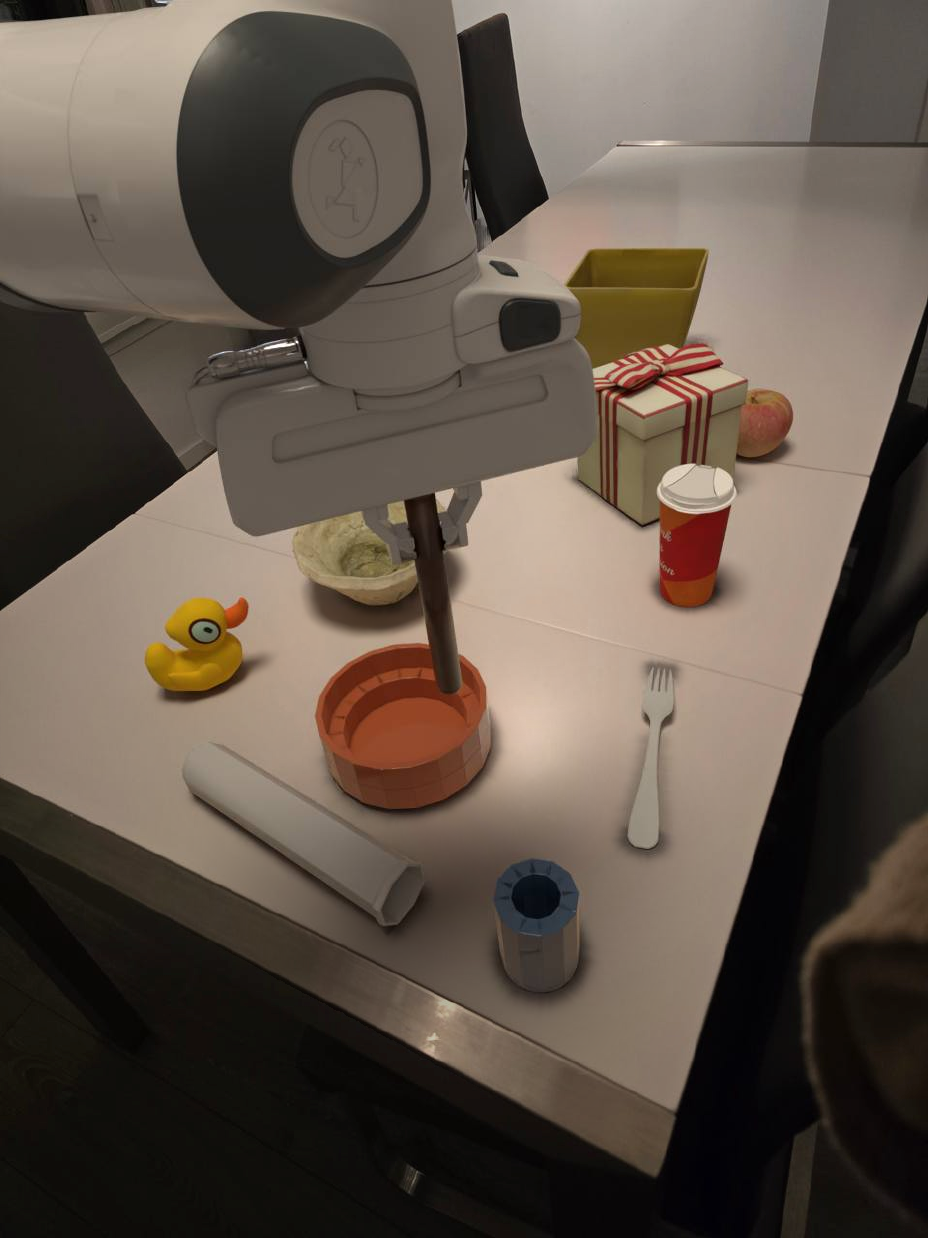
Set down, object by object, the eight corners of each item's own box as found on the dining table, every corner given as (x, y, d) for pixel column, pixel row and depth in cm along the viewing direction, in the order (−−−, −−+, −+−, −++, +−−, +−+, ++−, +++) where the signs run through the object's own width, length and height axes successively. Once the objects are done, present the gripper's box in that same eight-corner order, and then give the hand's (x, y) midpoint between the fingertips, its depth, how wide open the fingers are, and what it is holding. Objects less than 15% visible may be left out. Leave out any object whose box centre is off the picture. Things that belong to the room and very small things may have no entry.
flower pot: (588, 347, 141) (588, 246, 130) (699, 351, 136) (709, 246, 125) (563, 395, 128) (561, 287, 117) (686, 402, 122) (696, 289, 111)
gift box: (642, 436, 115) (649, 316, 104) (741, 487, 103) (760, 357, 92) (547, 477, 109) (543, 354, 98) (639, 537, 97) (647, 404, 86)
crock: (517, 1004, 56) (510, 947, 51) (491, 933, 60) (483, 874, 55) (591, 977, 57) (592, 919, 52) (560, 909, 61) (558, 848, 56)
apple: (796, 445, 109) (807, 390, 104) (764, 473, 105) (774, 417, 100) (738, 429, 114) (745, 375, 109) (704, 455, 110) (711, 400, 105)
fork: (623, 859, 67) (623, 843, 65) (647, 667, 80) (648, 649, 78) (658, 865, 66) (659, 849, 64) (676, 670, 79) (678, 652, 77)
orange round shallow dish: (346, 835, 68) (331, 791, 64) (317, 712, 80) (304, 669, 76) (514, 782, 71) (510, 737, 67) (463, 670, 82) (457, 626, 78)
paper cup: (662, 563, 93) (671, 455, 83) (730, 578, 89) (747, 467, 80) (639, 604, 88) (646, 493, 78) (710, 621, 84) (726, 508, 75)
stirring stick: (441, 703, 55) (404, 489, 44) (434, 686, 56) (396, 473, 45) (466, 696, 55) (436, 481, 44) (459, 678, 56) (427, 465, 45)
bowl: (401, 572, 103) (482, 515, 95) (347, 659, 89) (436, 601, 81) (324, 493, 99) (401, 425, 91) (255, 571, 86) (338, 500, 77)
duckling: (263, 646, 88) (238, 574, 82) (272, 677, 84) (247, 603, 78) (158, 680, 86) (124, 608, 79) (163, 713, 82) (127, 640, 75)
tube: (158, 772, 70) (369, 917, 58) (197, 722, 72) (410, 852, 60) (191, 795, 75) (395, 935, 62) (228, 747, 76) (433, 873, 64)
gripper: (173, 390, 35) (259, 629, 44) (612, 295, 38) (607, 536, 47) (171, 339, 39) (248, 565, 48) (561, 258, 43) (566, 484, 52)
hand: (428, 550), depth 48 cm, fingers closed on stirring stick, 2 cm apart
